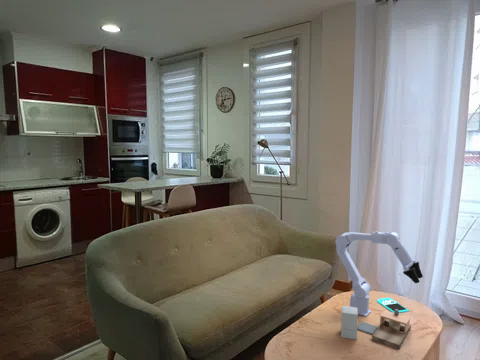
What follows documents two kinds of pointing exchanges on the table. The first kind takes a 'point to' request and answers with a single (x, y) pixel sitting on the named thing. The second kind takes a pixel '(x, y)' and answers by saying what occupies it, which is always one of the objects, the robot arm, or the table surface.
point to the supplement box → (349, 322)
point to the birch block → (394, 325)
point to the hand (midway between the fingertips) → (419, 280)
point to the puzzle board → (390, 335)
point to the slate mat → (367, 328)
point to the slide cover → (395, 318)
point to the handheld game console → (392, 305)
